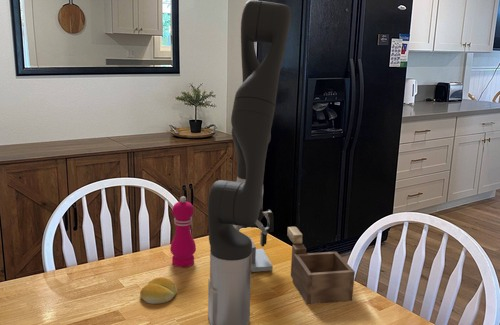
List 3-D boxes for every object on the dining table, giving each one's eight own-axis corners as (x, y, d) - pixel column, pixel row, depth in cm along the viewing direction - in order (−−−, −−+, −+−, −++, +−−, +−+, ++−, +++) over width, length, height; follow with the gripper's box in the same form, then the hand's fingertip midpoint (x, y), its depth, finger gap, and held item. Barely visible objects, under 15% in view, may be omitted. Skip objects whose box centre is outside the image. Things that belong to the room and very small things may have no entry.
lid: (230, 276, 135) (230, 252, 133) (223, 257, 147) (223, 235, 145) (272, 273, 138) (273, 249, 136) (262, 255, 149) (263, 233, 147)
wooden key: (293, 243, 134) (294, 235, 133) (287, 235, 140) (287, 227, 139) (301, 243, 134) (302, 234, 134) (295, 234, 140) (295, 226, 139)
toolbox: (306, 304, 121) (308, 270, 119) (288, 275, 136) (290, 244, 134) (352, 300, 124) (355, 267, 122) (329, 272, 139) (332, 242, 136)
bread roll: (134, 301, 121) (134, 286, 120) (154, 285, 129) (154, 271, 128) (164, 308, 118) (163, 293, 117) (182, 291, 126) (182, 277, 125)
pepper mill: (191, 269, 138) (191, 201, 133) (166, 266, 139) (166, 199, 134) (198, 258, 145) (199, 193, 140) (175, 255, 146) (175, 191, 141)
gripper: (270, 187, 142) (268, 239, 146) (221, 189, 139) (221, 242, 143) (277, 195, 135) (275, 250, 139) (226, 197, 132) (225, 253, 136)
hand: (247, 246), depth 141 cm, fingers open, 8 cm apart
